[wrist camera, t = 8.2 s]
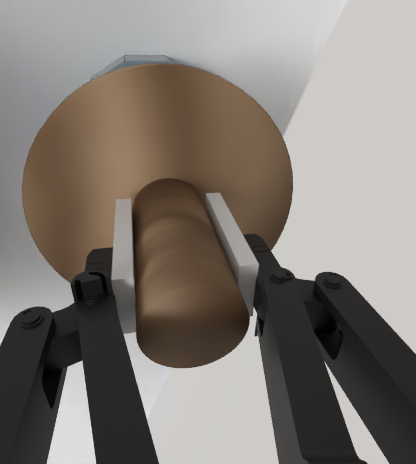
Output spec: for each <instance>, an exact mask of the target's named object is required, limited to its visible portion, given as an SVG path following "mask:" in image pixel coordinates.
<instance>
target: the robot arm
mask: <svg viewBox="0 0 416 464" xmlns="http://www.w3.org/2000/svg"><path fill="white" fill-rule="evenodd" d="M206 211H207V214H208V216H209V218H210V221H211V223H212V226H213V228H214V230H215V233H216V235H217V237H218V240H219V242H220V244H221V247H222V249H223V252H224V254H225V256H226V259H227V261H228V263H229V266H230V268H231V270H232V273H233V275H234V277H235V280H236V282H237V285H238V287H239V289H240V292H241V294H242V296H243V299H244V301H245V303H246V306H247V308H248V311H249V316H253V308H255V310H256V312H257V321H256V328H255V336H257V334H258V337H259V343H260V349H261V356H262V362H263V368H264V374H265V380H266V386H267V393H268V399H269V405H270V410H271V417H272V423H273V429H274V436H275V442H276V448H277V454H278V460H279V464H367V462H365V461H363V460H360V459H359V457H358V456H357V454H356V452H355V449H354V447H353V444H352V441H351V438H350V435H349V432H348V429H347V426H346V424H345V420H344V417H343V414H342V412H341V409H340V406H339V403H338V400H337V397H336V394H335V391H334V388H333V385H332V383H331V380H330V377H329V374H328V371H327V368H326V365H325V362H326V364H327V366H328V367H329V369H330V370H331V372H332V373H333V375H334V377H335V378H336V380H337V381H338V383H339V385H340V386H341V388H342V389H343V391H344V392H345V394H346V396H347V397H348V398H349V400H350V402H351V403H352V405H353V407H354V408H355V410H356V411H357V413H358V415H359V416H360V418H361V419H362V421H363V422H364V424H365V426H366V427H367V429H368V430H369V432H370V434H371V435H372V436H373V438H374V440H375V441H376V443H377V445H378V446H379V448H380V449H381V451H382V452H383V454H384V456H385V457H386V459H387V460H388V462H389V464H416V354H415V353H414V352H413V351H412V350H411V349H410V348H409V346H408V345H407V344H406V343H405V342H404V341H403V340H402V339H401V338H400V337H399V336H398V335H397V333H396V332H394V330H393V329H392V328H391V327H390V326H389V325H388V324H387V322H385V320H384V319H383V318H382V317H381V316H380V315H379V314H378V313H377V312H376V311H375V309H374V308H373V307H372V306H371V305H370V304H369V303H368V302H367V301H366V300H365V299H364V297H363V296H362V295H361V294H360V293H359V292H358V291H357V290H356V289H355V288H354V287H353V286H352V284H351V283H350V282H349V281H348V280H347V279H346V278H344V277H343V276H341V275H339V274H337V273H332V272H323V273H319V274H318V275H317V276H316V278H315V281H311V280H302V279H297V278H295V276H294V275H293V273H292V272H290V271H289V270H287V269H285V268H282V267H280V265H279V264H278V262H277V260H276V259H275V257H274V255H273V254H272V252H271V251H270V249H269V247H268V246H267V244H266V243H265V241H264V239H263V238H261V237H260V236H258V235H257V234H244V235H243V234H242V232H241V231H240V229H239V227H238V225H237V223H236V221H235V220H234V218H233V216H232V214H231V212H230V210H229V209H228V207H227V205H226V203H225V201H224V200H223V198H222V196H221V194H220V193H206ZM71 289H72V293H73V297H74V303H73V304H72V305H70V306H69V307H67V308H64V309H62V310H59V311H56V312H53V313H52V312H51V310H50V309H48V308H46V307H32V308H28V309H26V310H24V311H22V312H20V313H19V314H17V315H16V316H15V317H14V318H13V320H12V321H11V323H10V325H9V327H8V330H7V332H6V334H5V337H4V339H3V341H2V343H1V346H0V464H47V459H48V454H49V450H50V445H51V441H52V436H53V431H54V427H55V422H56V418H57V413H58V408H59V404H60V399H61V395H62V390H63V385H64V381H65V376H66V372H67V367H68V366H70V365H72V364H75V363H77V362H80V361H82V360H83V367H84V375H85V382H86V390H87V397H88V405H89V412H90V419H91V427H92V434H93V442H94V449H95V457H96V464H159V462H158V459H157V455H156V451H155V448H154V444H153V440H152V437H151V433H150V429H149V426H148V422H147V419H146V415H145V411H144V408H143V404H142V400H141V397H140V393H139V389H138V386H137V382H136V379H135V375H134V371H133V368H132V364H131V360H130V357H129V353H128V349H127V346H126V342H125V339H124V335H123V334H125V333H132V332H136V309H135V302H136V292H135V264H134V236H133V213H132V204H131V199H116V206H115V223H114V241H113V247H110V248H99V249H93V250H92V251H91V252H90V253H89V254H88V256H87V259H86V265H85V271H84V272H81V273H79V274H78V275H76V276H75V277H74V278H73V279H72V281H71ZM324 361H325V362H324Z"/></svg>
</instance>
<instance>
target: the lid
mask: <svg viewBox="0 0 416 464" xmlns="http://www.w3.org/2000/svg"><path fill="white" fill-rule="evenodd" d="M292 175H293V174H292V168H291V161H290V157H289V153H288V151H287V148H286V144H285V142H284V140H283V138H282V136H281V134H280V132H279V129H278V127H277V126H276V125H275V123H274V122H273V120H272V119H271V117H270V116H269V115H268V113H267V112H266V111H265V110H264V109H263V108H262V107H261V106H260V105H259V104H258V103H257V102H256V100H254V99H253V98H252V97H251V96H249V95H248V94H247V93H245V92H244V91H243V90H242V89H240V88H239V87H237V86H235V85H233V84H232V83H230V82H228V81H226V80H225V79H223V78H221V77H219V76H218V75H215V74H212V73H210V72H207V71H205V70H202V69H199V68H195V67H191V66H186V65H182V64H172V63H145V64H137V65H132V66H127V67H123V68H119V69H116V70H113V71H111V72H108V73H105V74H103V75H100V76H98V77H97V78H95V79H93V80H91V81H89V82H87V83H86V84H84V85H82V86H81V87H80V88H78V89H77V90H76V91H74V92H73V93H72V94H71V95H69V96H68V97H67V98H66V99H65V100H64V101H63V102H62V103H61V104H60V105H59V106H58V107H57V108H56V109H55V110H54V111H53V113H52V114H51V115H50V116H49V118H48V119H47V121H46V122H45V124H44V125H43V126H42V128H41V129H40V131H39V132H38V134H37V136H36V138H35V140H34V142H33V144H32V146H31V149H30V151H29V154H28V157H27V161H26V164H25V168H24V175H23V183H22V198H23V208H24V213H25V218H26V222H27V225H28V227H29V230H30V233H31V236H32V238H33V240H34V241H35V243H36V245H37V247H38V249H39V251H40V252H41V253H42V255H43V256H44V257H45V259H46V260H47V261H48V263H49V264H50V265H51V266H52V267H53V268H54V269H55V270H56V271H57V272H58V273H59V274H60V275H61V276H62V277H63V278H65V279H66V280H67V281H68V282H70V283H71V281H72V279H73V278H74V277H75V276H76V275H78V274H79V273H81V272H84V271H85V265H86V259H87V256H88V254H89V253H90V252H91V251H92V250H93V249H99V248H110V247H113V241H114V223H115V206H116V199H131V204H132V213H133V236H134V264H135V292H136V302H135V309H136V338H137V343H138V345H139V348H140V349H141V351H142V352H143V353H144V354H145V355H146V356H147V357H148V358H149V359H150V360H152V361H154V362H156V363H158V364H160V365H163V366H167V367H173V368H192V367H198V366H202V365H206V364H209V363H212V362H214V361H216V360H218V359H220V358H222V357H224V356H225V355H227V354H228V353H230V352H231V351H232V350H233V349H235V348H236V347H237V346H238V345H239V343H240V342H241V341H242V339H243V338H244V336H245V335H246V333H247V330H248V327H249V320H250V319H249V318H250V317H249V311H248V308H247V306H246V303H245V301H244V299H243V296H242V294H241V292H240V289H239V287H238V285H237V282H236V280H235V277H234V275H233V273H232V270H231V268H230V266H229V263H228V261H227V259H226V256H225V254H224V252H223V249H222V247H221V244H220V242H219V240H218V237H217V235H216V233H215V230H214V228H213V226H212V223H211V221H210V218H209V216H208V214H207V211H206V193H220V194H221V196H222V198H223V200H224V201H225V203H226V205H227V207H228V209H229V210H230V212H231V214H232V216H233V218H234V220H235V221H236V223H237V225H238V227H239V229H240V231H241V232H242V234H243V235H244V234H257V235H258V236H260V237H261V238H263V239H264V241H265V243H266V244H267V246H268V247H269V249H270V251H271V250H272V249H273V247H274V246H275V244H276V243H277V241H278V239H279V237H280V235H281V233H282V231H283V229H284V226H285V224H286V221H287V218H288V214H289V210H290V206H291V201H292V192H293V176H292Z"/></svg>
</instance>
